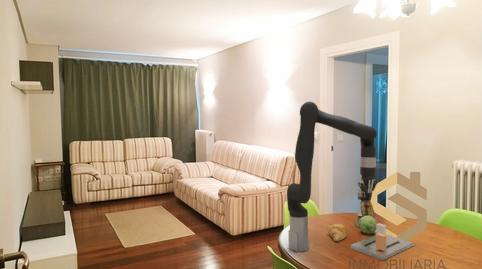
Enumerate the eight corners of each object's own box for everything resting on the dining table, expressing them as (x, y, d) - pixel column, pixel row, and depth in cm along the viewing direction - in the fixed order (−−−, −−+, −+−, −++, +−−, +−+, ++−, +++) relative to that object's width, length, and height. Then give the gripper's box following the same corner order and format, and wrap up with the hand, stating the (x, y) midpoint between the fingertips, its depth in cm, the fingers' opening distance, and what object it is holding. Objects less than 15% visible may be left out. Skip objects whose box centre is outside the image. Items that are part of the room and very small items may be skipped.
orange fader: (383, 250, 161) (383, 236, 161) (375, 248, 164) (375, 233, 164) (386, 249, 162) (386, 234, 162) (378, 247, 166) (378, 232, 165)
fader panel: (383, 260, 156) (383, 256, 156) (350, 248, 171) (350, 244, 170) (413, 246, 171) (413, 242, 171) (380, 236, 186) (380, 232, 185)
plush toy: (350, 227, 198) (359, 186, 196) (349, 220, 211) (358, 182, 209) (375, 234, 194) (385, 192, 192) (373, 227, 208) (382, 187, 205)
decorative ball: (379, 236, 185) (379, 218, 184) (360, 236, 187) (359, 218, 186) (375, 230, 195) (375, 213, 194) (357, 230, 197) (357, 213, 196)
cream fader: (383, 239, 175) (383, 225, 174) (376, 237, 178) (376, 224, 178) (386, 238, 176) (385, 224, 176) (379, 236, 180) (378, 223, 179)
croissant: (342, 249, 178) (349, 237, 177) (324, 239, 181) (331, 227, 179) (343, 234, 198) (349, 223, 197) (327, 225, 201) (333, 214, 199)
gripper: (365, 167, 164) (365, 203, 165) (382, 165, 171) (382, 199, 172) (353, 166, 171) (353, 200, 171) (370, 164, 178) (369, 196, 178)
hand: (367, 199), depth 172 cm, fingers closed
